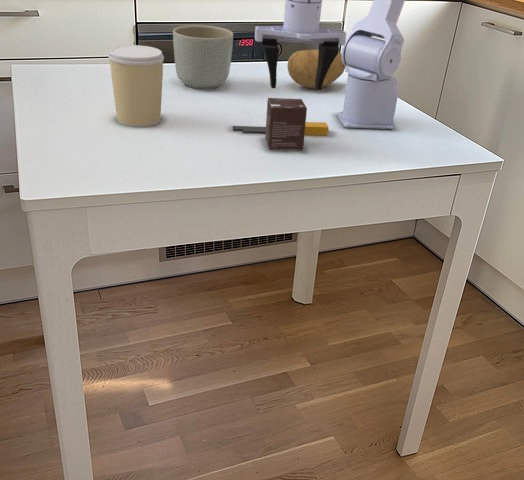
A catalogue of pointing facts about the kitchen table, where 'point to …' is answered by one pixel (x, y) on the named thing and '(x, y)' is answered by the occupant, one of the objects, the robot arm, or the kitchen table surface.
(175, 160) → the kitchen table surface
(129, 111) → the coffee cup
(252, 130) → the knife
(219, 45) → the planter
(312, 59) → the potato
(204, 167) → the kitchen table surface
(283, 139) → the box
